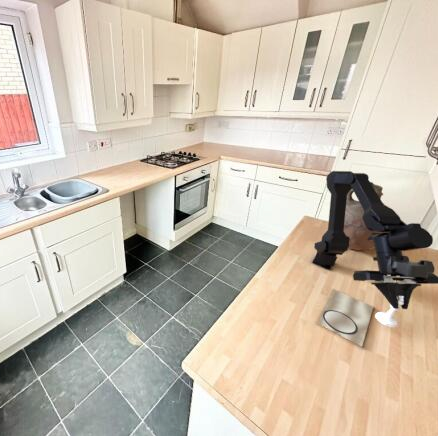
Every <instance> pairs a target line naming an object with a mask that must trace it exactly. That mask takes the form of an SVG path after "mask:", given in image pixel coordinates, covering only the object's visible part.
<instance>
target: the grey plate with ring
mask: <svg viewBox="0 0 438 436" xmlns="http://www.w3.org/2000/svg"><path fill="white" fill-rule="evenodd" d="M373 310H374V306H372V305H370V304H368V303H365V302H363V301H361V300H359V299H356V298H354V297H352V296H351V295H348V294H345V293H343V292H341V291H339V290H336V289H335V290H334V291H333V293H332V295H331V297H330V299H329V301H328V303H327V305H326V307H325V310H324V311H323V313H322V315H321V317H320V319H319V322H318V325H320V326H322V327H324V328H325V329H327V330H329V331H331V332H333V333H335V334H336V335H338V336H339V337H342V338H344V339H346V340H348V341H349V342H351V343H353V344H354V345H357V346H359V347H361V348H362V347H363V346H364V342H365V339H366V335H367V331H368V328H369V324H370V320H371V317H372V314H373Z"/></svg>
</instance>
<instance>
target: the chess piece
mask: <svg viewBox="0 0 438 436" xmlns="http://www.w3.org/2000/svg"><path fill="white" fill-rule="evenodd" d="M398 297H399V299H398V298H397V300H398V309H395V308H393V307H392V305H391V304H389V307H390V308H389V310H388V311H387V312H384V311H377V313H375V315H374V317H375V319H376V320H377V321H378V322H379V323H380V324H382V325H384V326H386V327H389V328H396V327H398V324H399V322H398V320H397V319H396V318H395V317H394V316H395V313H396V311H401V308H400V307H401V305H403V304H404V302H403V301H404V300H403V298H404V296H398Z"/></svg>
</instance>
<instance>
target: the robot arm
mask: <svg viewBox="0 0 438 436" xmlns="http://www.w3.org/2000/svg"><path fill="white" fill-rule="evenodd" d="M369 178H370V176H369V175H368V174H367V173H364V172H353V171H351V170H332V171H331V172H330V173H328V174H327V175H326V188H327V190H328V192H329V193H330V202H329V213H328V225H327V230H326V232H324V233H323V235H322V236H321V241H317V242H315V243H314V245H313V246H314V247H313V248H314V249H315V250H316V253H315V256H314V258H313V260H312V262H311V263H312V264H314V265H315V266H317V267H322V268H323V269H325V270H329V271H330V270H331V269H332V268H333V267H334V266H335V264H336V262H337V259H338V257H339V256H343V255H344V254H345V253H346V252H348V250H349V248H348V247H349V240H350V238H349V236H346V234H345V233H344V222H345V212H346V202H347V194H348V193H349V192H350V190H351V189H353V191H354V192H353V194H354V195H355V196H356V198H357V201H359V202H360V204H361V206H362V207H363V210H364V214H363V216H362V218H363V221H364V224H365V226H366V228H367V229H368V230H371V231H377V232H389V233H381V234H380V233H372V234H371V236H369V237H368V239H367V240H368V241H373V242H374V251H375V252H374V253H375V256H373V257H372V259H373V261H374V262H376V263H377V268H378V270H371V269H370V270H368V269H366V270H355V271H354V272H353V274H352V279H353V281H355V282H356V281H357V282H365V281H374V282H370V284H371V285H374V286H375V288H376V289H377V290H378V291H379V292H380V293H381V294H382V295H383V297H384V298H385V299H386V300H387V302H388V303H389V305H392V307H393V308H395V309H398V300H397V299H399V297H398V296H404V298H403V300H404V301H403V302H404V304H403V305H401V306H400V307H401V309H402V310H408V308H409V304H410V300H411V297H412V294H413V292H414V290H415V289H417V288H418V287H421V286H422V285H430V284H434V285H435V284H437V285H438V275H436V274H435V270H436V269H435V266H434V263H433V261H431V260H428V259H427V260H426V259H425V260H423V259H420V260H418V261H417V262H416V261H415V262H414V261H411V260H410V258H409V256H408V255H404V253H403V252H407V251H414V250H422V249H427V248H430V247H431V246H432V245H433V243H434V242H433V241H434V238H433V237H434V236H433V235H432V234H431V233H430V232H429V231H428V229H426V228H423V227H422V225H421V223H418V222H416V223H415V222H412V223H408V224H407V223H406V222H404V221H403V220H402V219H401V217H400V216H399V214H398V213H397V212H396V211H395V210H394V209H393V208H391V207H389V206H388V205H386V204H385V203H384V202H383V201H382V200H381V199H382V198H381V199H380V198H379V196H378V194H377V193H376V191H375V190H374V188H373V186H372V185H371V183H370V182H371V181H370V180H369ZM394 281H395V282H394Z"/></svg>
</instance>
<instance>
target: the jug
mask: <svg viewBox="0 0 438 436" xmlns="http://www.w3.org/2000/svg"><path fill="white" fill-rule="evenodd" d="M370 183H371V185H372V186H373V188H374V190H375V191H376V193H377V194H378V196H379V198H380V199H382V196H384V193H383V189H384V188H383V187H382V186H381V185H378V184H375V183H374V182H372V181H370ZM353 194H354V191H353V189H351V190H350V192H349V193H348V194H347V202H346V212H345V222H344V233H345V234H346V236H349V238H350V240H349V247H348V250H349V249H350V250H355V251H362V250H370V249H375V247H374V242H373V241H368V240H367V239H368V237H369V236H371V234H372V233H380V234H381V233H389V232H377V231H371V230H368V229H367V228H366V226H365V224H364V221H363V218H362V216H363V214H364V210H363V207H362V206H361V204H360V202H359V200H356V199H354V198H353Z"/></svg>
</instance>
